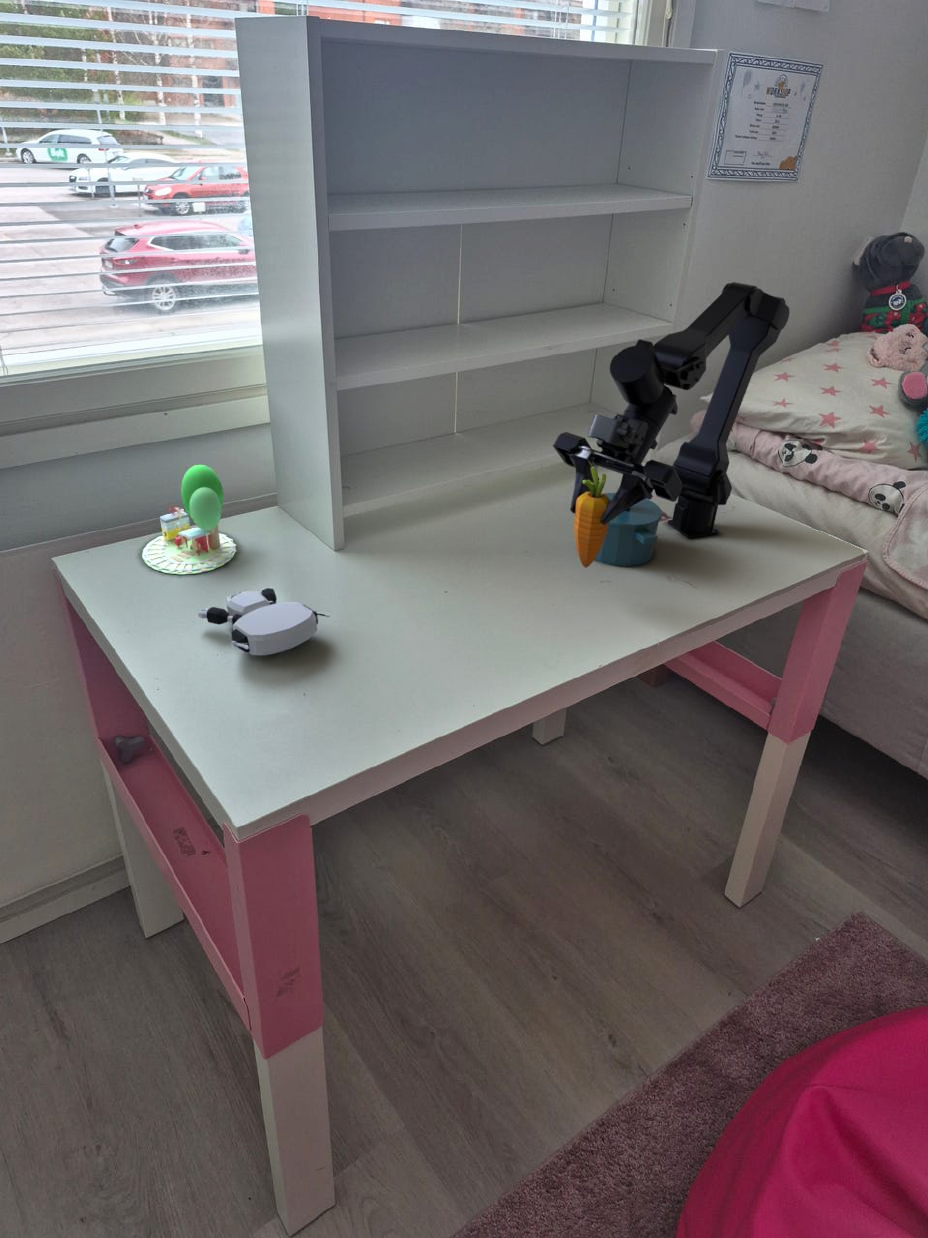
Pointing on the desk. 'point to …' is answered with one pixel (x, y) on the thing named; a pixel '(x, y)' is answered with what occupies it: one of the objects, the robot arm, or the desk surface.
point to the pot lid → (637, 514)
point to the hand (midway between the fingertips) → (586, 517)
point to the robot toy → (265, 622)
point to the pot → (628, 545)
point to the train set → (197, 545)
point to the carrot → (590, 519)
